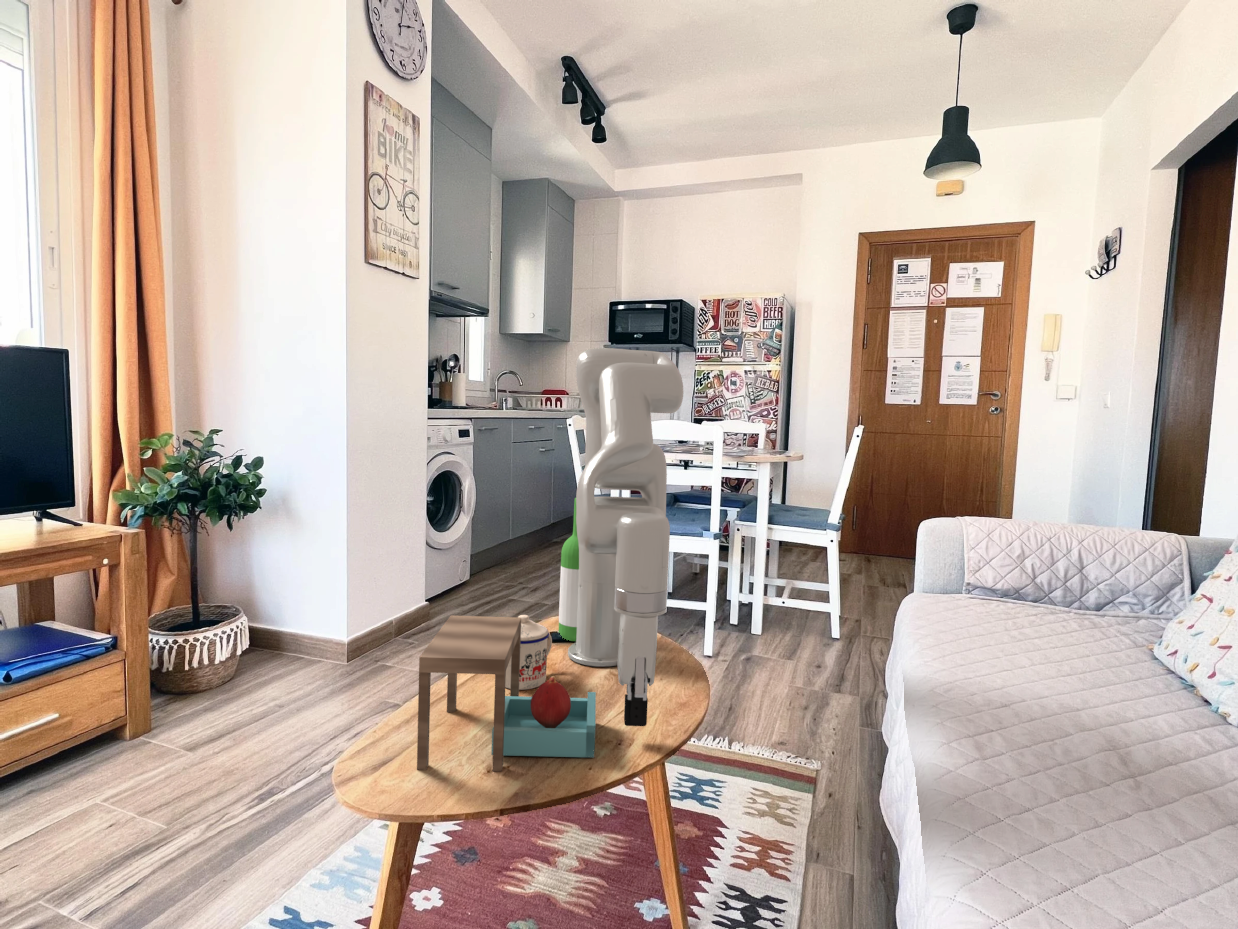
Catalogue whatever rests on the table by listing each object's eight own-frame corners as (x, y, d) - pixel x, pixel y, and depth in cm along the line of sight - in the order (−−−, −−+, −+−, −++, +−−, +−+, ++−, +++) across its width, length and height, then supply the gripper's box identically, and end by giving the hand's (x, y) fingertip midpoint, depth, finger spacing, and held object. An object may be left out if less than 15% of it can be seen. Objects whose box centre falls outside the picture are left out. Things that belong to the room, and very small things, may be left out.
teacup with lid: (522, 696, 108) (524, 627, 108) (484, 681, 114) (486, 616, 113) (568, 674, 118) (570, 612, 118) (531, 662, 123) (533, 602, 123)
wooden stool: (448, 708, 103) (450, 615, 102) (518, 710, 103) (521, 617, 102) (416, 769, 85) (419, 657, 84) (501, 771, 85) (505, 659, 84)
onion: (521, 729, 94) (523, 675, 93) (550, 716, 98) (551, 665, 98) (549, 743, 90) (551, 687, 90) (578, 729, 95) (580, 676, 94)
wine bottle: (599, 634, 142) (605, 497, 140) (586, 645, 134) (591, 501, 132) (566, 629, 144) (571, 494, 142) (552, 639, 137) (557, 498, 135)
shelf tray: (503, 718, 99) (504, 689, 99) (594, 720, 100) (595, 692, 100) (491, 755, 88) (492, 723, 88) (594, 757, 89) (595, 725, 89)
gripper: (613, 585, 101) (608, 701, 102) (615, 614, 86) (610, 748, 87) (661, 587, 101) (656, 702, 102) (672, 615, 86) (666, 750, 87)
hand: (635, 723), depth 94 cm, fingers closed
